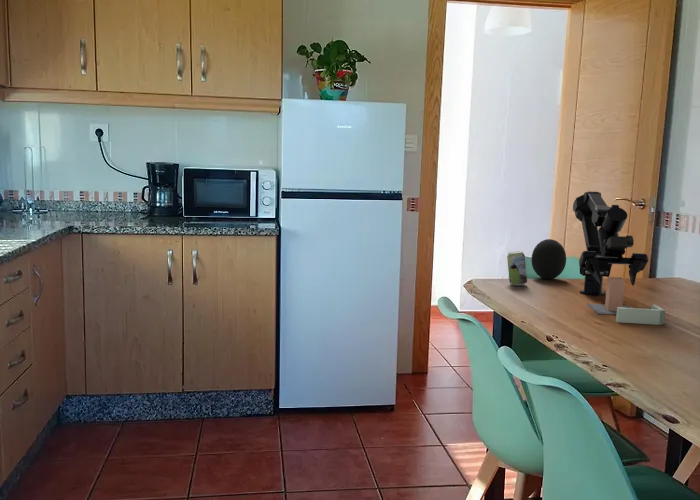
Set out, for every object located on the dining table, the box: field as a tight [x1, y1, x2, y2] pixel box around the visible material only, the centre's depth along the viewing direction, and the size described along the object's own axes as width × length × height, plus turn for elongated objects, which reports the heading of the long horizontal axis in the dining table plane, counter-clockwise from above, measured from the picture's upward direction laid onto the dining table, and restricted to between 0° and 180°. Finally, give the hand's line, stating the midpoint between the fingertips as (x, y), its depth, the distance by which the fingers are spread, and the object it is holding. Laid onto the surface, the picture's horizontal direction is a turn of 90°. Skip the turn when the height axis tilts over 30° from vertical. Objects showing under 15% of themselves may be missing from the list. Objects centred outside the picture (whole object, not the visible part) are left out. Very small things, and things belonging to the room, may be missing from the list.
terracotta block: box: [604, 276, 626, 311], centre depth 183 cm, size 4×4×10 cm
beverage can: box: [506, 250, 528, 286], centre depth 217 cm, size 6×7×12 cm
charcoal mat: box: [587, 303, 631, 316], centre depth 184 cm, size 12×12×1 cm
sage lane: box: [615, 304, 666, 326], centre depth 172 cm, size 7×12×4 cm, turn 83°
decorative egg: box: [530, 238, 567, 280], centre depth 229 cm, size 12×12×15 cm
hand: (616, 284), depth 181 cm, fingers open, 9 cm apart
